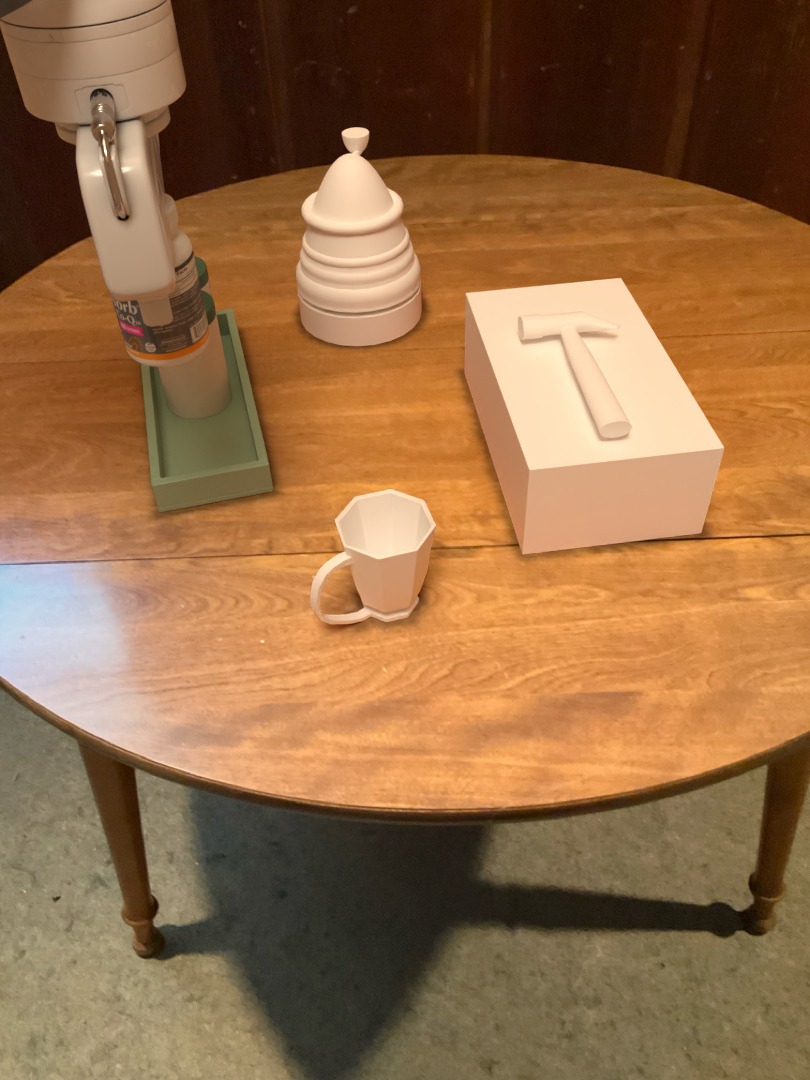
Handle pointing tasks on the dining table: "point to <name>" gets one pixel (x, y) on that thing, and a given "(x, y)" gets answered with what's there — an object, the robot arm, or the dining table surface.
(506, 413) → the hammer embossed box
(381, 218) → the honey pot
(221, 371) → the white bottle
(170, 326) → the pill bottle
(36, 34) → the robot arm
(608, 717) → the dining table surface
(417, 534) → the cup
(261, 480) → the bottle tray
